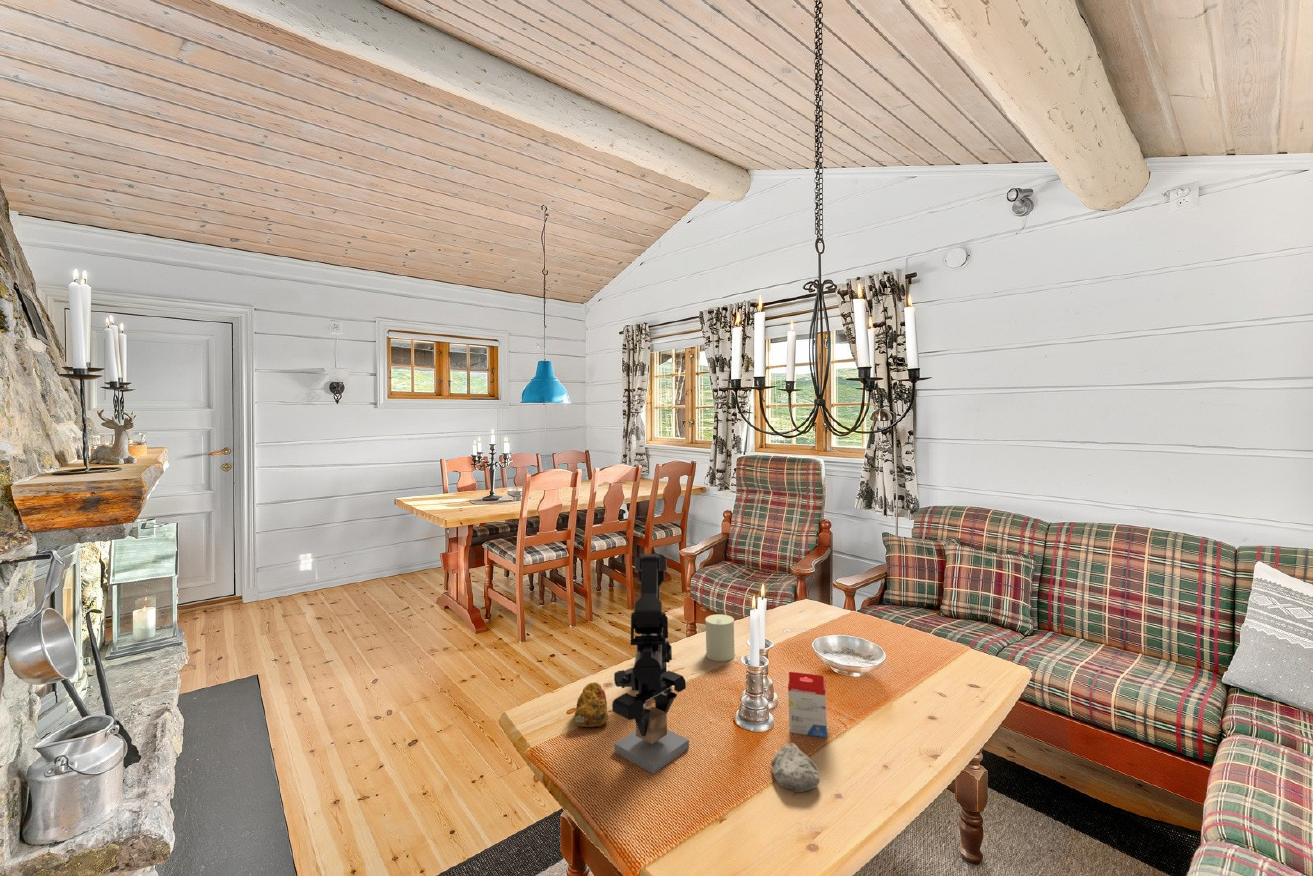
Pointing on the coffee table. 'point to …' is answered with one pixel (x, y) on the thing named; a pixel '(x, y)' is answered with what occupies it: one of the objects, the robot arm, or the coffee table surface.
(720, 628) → the pale green cylinder
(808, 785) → the decorative stone
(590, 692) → the rock
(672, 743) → the plate
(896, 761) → the coffee table surface
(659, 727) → the walnut cube
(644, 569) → the robot arm
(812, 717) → the ink box
